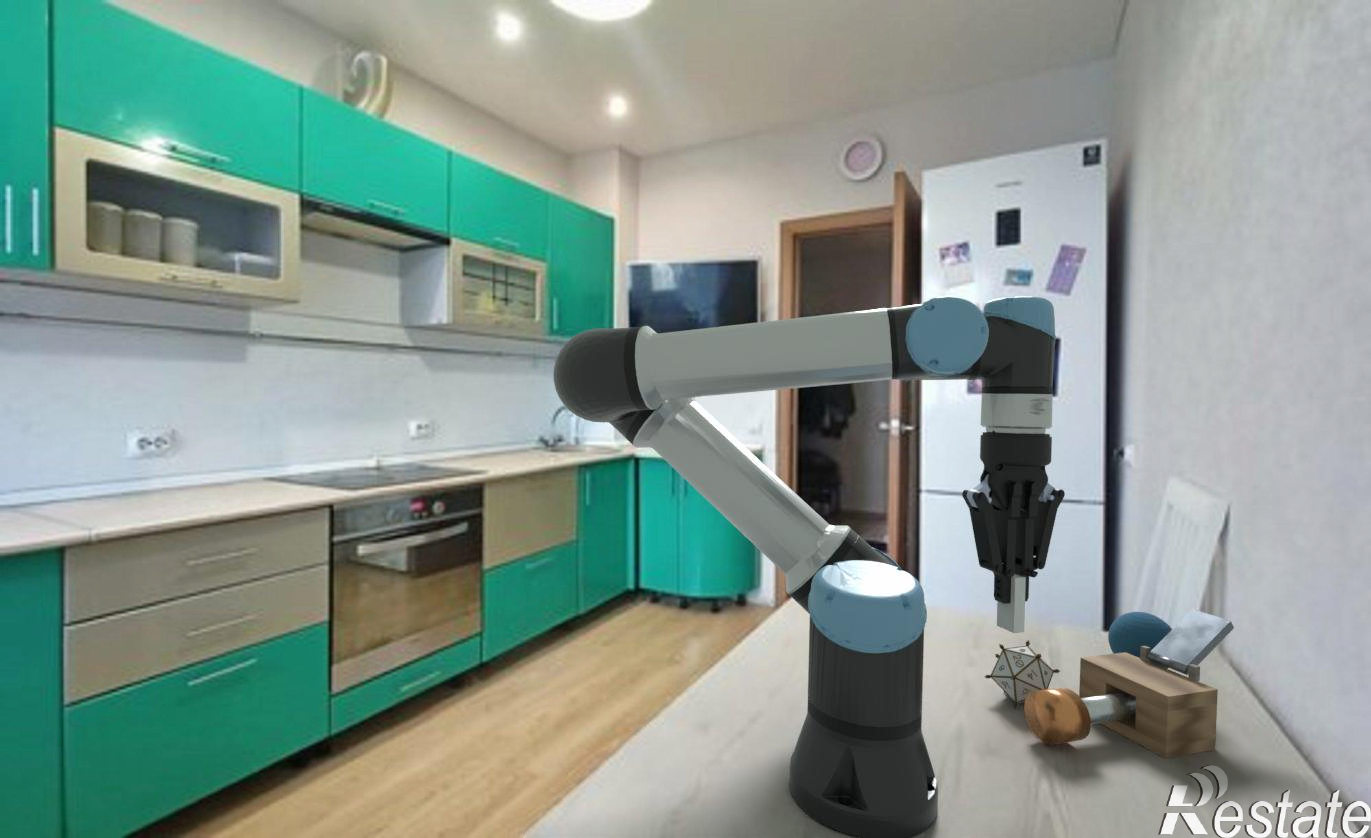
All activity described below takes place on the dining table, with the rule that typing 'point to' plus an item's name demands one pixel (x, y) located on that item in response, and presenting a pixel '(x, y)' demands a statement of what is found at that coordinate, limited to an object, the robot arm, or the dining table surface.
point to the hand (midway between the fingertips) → (1010, 628)
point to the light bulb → (1137, 633)
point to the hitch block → (1155, 702)
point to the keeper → (1190, 641)
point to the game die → (1021, 672)
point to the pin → (1073, 713)
